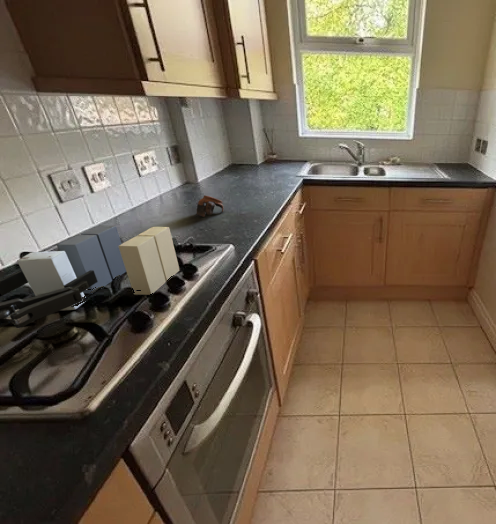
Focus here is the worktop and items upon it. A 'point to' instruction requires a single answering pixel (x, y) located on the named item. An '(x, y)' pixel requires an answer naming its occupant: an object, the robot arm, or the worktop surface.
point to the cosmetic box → (47, 272)
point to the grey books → (95, 254)
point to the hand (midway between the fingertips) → (61, 275)
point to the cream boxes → (149, 259)
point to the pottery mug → (208, 205)
